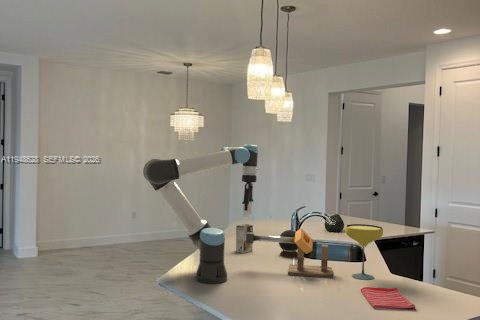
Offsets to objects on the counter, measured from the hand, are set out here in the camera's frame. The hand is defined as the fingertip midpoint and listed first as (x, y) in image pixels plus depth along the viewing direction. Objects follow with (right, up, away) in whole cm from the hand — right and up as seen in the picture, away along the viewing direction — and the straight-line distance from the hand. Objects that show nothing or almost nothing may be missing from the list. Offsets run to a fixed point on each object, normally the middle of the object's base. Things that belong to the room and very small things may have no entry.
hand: (247, 215), depth 231 cm
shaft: (+13, -15, +1) cm, 20 cm away
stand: (+32, -29, -3) cm, 43 cm away
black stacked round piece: (+26, -29, +36) cm, 53 cm away
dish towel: (+58, -31, -44) cm, 79 cm away
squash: (+72, -29, +125) cm, 147 cm away
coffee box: (-1, -28, +44) cm, 52 cm away
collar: (+32, -16, -3) cm, 36 cm away
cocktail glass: (+57, -30, -9) cm, 65 cm away
